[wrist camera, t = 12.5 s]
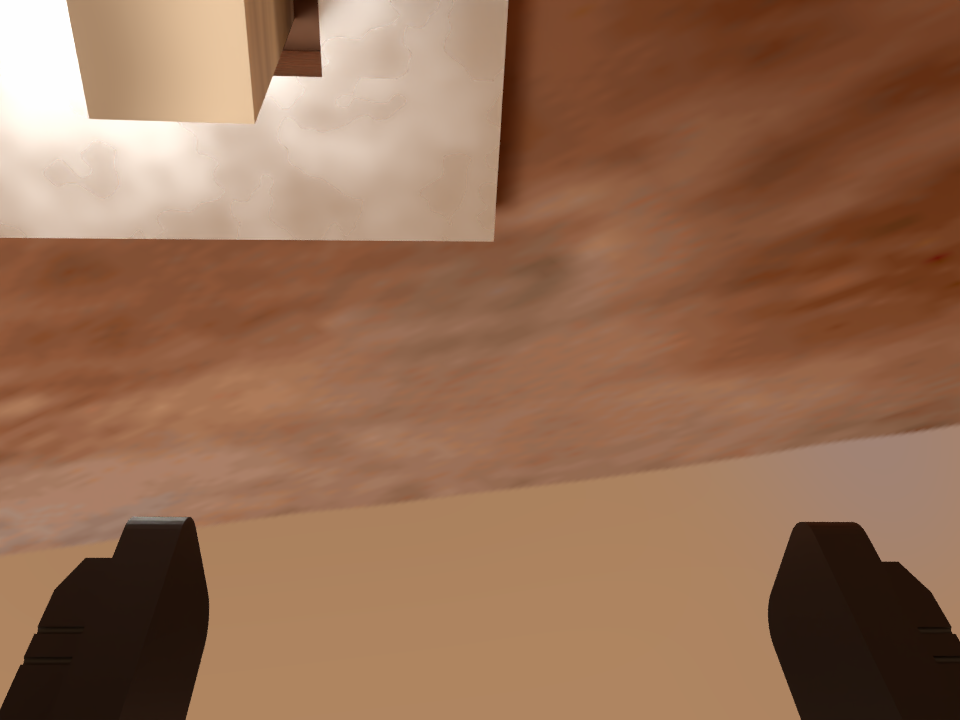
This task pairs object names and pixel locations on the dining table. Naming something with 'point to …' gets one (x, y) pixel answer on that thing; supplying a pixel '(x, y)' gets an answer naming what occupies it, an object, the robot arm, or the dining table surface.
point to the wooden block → (178, 57)
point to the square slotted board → (269, 136)
